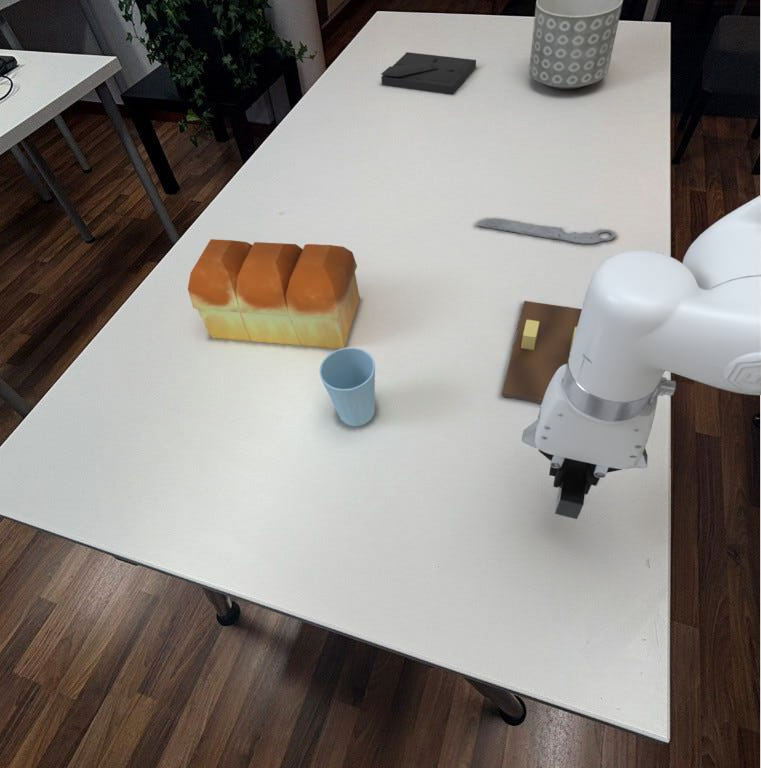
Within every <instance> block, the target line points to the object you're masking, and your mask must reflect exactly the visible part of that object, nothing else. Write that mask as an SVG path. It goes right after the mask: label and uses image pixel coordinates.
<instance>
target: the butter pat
mask: <svg viewBox="0 0 761 768" xmlns="http://www.w3.org/2000/svg"><path fill="white" fill-rule="evenodd" d="M538 327H539V321H534V320H526V324H525V328H524V333H523V338H522V345H521V348H524V349H530V350H534V347H535V342H536V338H537V333H538Z"/></svg>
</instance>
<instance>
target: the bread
mask: <svg viewBox="0 0 761 768" xmlns="http://www.w3.org/2000/svg"><path fill="white" fill-rule="evenodd" d="M357 267H358V265H357V262H356V259H355V255H354V253H353V251H352V250H349V249H348V248H346V247H345V246H342V245H334V244H333V245H332V244H316V243H315V244H314V243H307V244H304V246H303V248H302V247H301V246H299V245H298V244H296V243H281V242H262V241H261V242H260V241H259V242H258V241H254V242H253V244H252V243H249V242H247V241H241V240H234V239H215V238H210V239H209V240H208V243H207V244H206V247H205V248H204V249H203V251H202V253H201V255H200V256H199V258H198V260H197V262H196V263H195V265H194V266H193V268H192V270H191V271H190V274H189V280H188V284H187V285H188V286H187V292H188V295H189V298H190V302H191V305H192V308H193V309H195V310H197V311H198V313H199V315H200V318H201V319H202V321H203V323H204V325H205V327H206V329H207V331H208V333H209V336H210V338H213V339H224V340H233V341H235V340H236V341H246V342H256V343H257V342H259V343H269V344H280V345H291V346H301V347H315V348H326V349H336V350H338V349H342V348H346V346H347V345H346V344H347V342H348V338H349V335H350V333H351V330H352V326H353V322H354V320H355V316H356V314H357V310H358V307H359V304H360V301H361V299H360V298H361V297H360V292H359V285H358V282H357V276H356V270H357Z"/></svg>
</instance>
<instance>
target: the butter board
mask: <svg viewBox="0 0 761 768" xmlns="http://www.w3.org/2000/svg"><path fill="white" fill-rule="evenodd" d="M581 311H582V308H577V307H571V306H563V305H556V304H550V303H543V302H536V301H528V300H524V301H523V306H522V310H521V314H520V318H519V323H518V326H517V331H516V334H515V340H514V343H513V347H512V352H511V356H510V360H509V364H508V368H507V372H506V377H505V382H504V384H503V385H504V386H503V389H502V397H504V398H509V399H515V400H519V401H526V402H530V403H535V404H540V405H541V404H542V401H543V398H544V395H545V393H546V390H547V388H548V385H549V383H550V381H551V380H552V378H553V376H554V374H555V373H556V371H557V370H558V369H559V368H560V367H561V366H562V365H564V364H567V363H568V359H569V354H570V348H571V341H572V337H573V333H574V329H575V327H577V326H578V322H579V319H580V315H581ZM526 320H534V321H539V327H538V333H537V338H536V342H535V347H534V350H530V349H524V348H521V345H522V338H523V333H524V328H525V324H526Z"/></svg>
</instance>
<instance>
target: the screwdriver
mask: <svg viewBox="0 0 761 768" xmlns="http://www.w3.org/2000/svg"><path fill="white" fill-rule="evenodd" d="M587 467H588V463H587V462H582V461H578V460H573V459H569V458H567V463H566V470H565V474H564V475H563V478H562V481H561V484H560V487H558V489H557V495H556V503H555V511H554V514H555V515H558V516H562V517H566V518H569V519H574V520H578V519H579V516H580V514H581V512H582V509H583V507H584V505H585V504H584V503H585V497H586V494H585V488H586V476H587Z"/></svg>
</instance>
